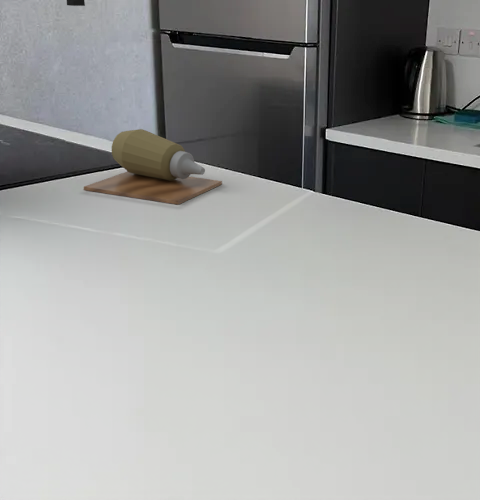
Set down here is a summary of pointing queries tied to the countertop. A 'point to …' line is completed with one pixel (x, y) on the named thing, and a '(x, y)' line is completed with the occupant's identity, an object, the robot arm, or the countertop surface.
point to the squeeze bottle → (153, 156)
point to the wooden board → (153, 187)
